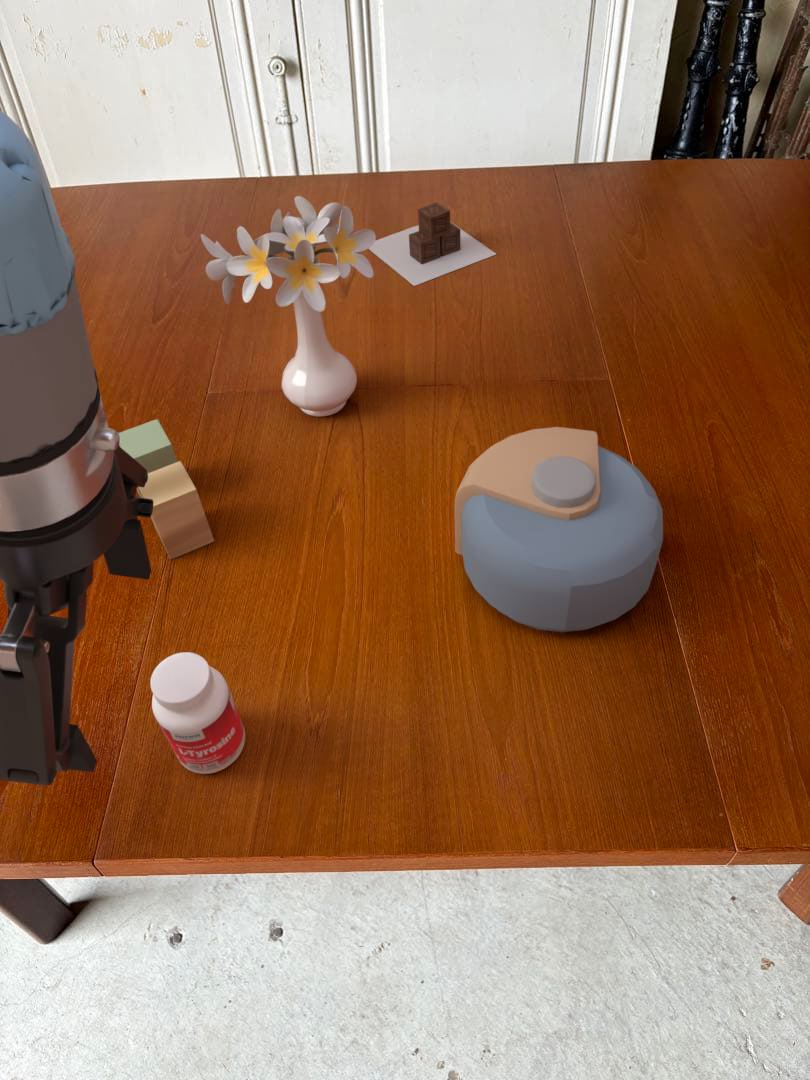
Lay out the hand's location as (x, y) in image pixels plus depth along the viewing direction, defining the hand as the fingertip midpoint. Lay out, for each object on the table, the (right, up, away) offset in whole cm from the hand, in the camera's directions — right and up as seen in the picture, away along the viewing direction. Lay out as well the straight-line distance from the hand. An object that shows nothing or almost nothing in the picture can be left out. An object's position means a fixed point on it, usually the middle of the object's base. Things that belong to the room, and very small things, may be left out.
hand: (103, 661), depth 53 cm
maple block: (-4, +8, +35) cm, 37 cm away
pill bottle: (+3, -10, +19) cm, 21 cm away
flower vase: (+9, +25, +49) cm, 56 cm away
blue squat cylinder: (+35, +6, +30) cm, 47 cm away
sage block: (-8, +14, +40) cm, 43 cm away
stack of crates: (+24, +53, +73) cm, 93 cm away
